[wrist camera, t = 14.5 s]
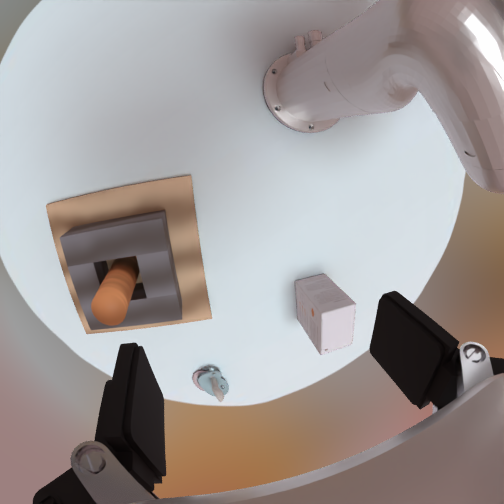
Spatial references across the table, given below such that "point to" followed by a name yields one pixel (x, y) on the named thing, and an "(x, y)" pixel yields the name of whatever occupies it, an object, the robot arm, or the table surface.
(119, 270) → the peg
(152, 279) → the socket
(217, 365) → the table surface
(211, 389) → the pacifier
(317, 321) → the small box
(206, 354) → the table surface
